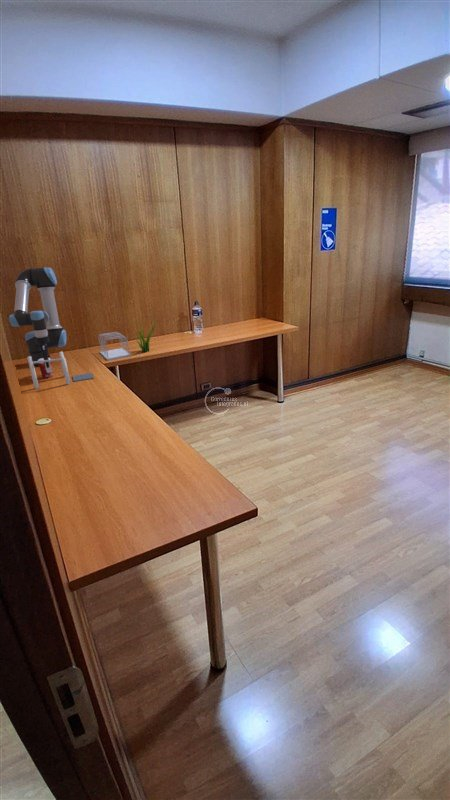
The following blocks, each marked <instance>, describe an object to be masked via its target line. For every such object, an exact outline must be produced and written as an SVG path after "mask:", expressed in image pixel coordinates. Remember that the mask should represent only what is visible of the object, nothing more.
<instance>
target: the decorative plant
mask: <svg viewBox="0 0 450 800" xmlns="http://www.w3.org/2000/svg"><path fill="white" fill-rule="evenodd" d="M156 311H157V310H156V309H155V312H156ZM154 315H155V313H153V315H152V316H154ZM152 320H153V326H152V328H151V330H150V331H149V333H148V335H147V337H145V334H144V329H143V326H141V331H140V329H139V326H140V323H137V331H138V336H139V337H138V336H137V335H136V334H135V333H134V335H133V336H134V337H137V338H135V339H136V343H137V344H138V346H139V348H140V349H141V351H142V353H149V352H150V341H151V337H152V335H153V334H154V331H155V326H156V320H155V318H154V317H152ZM137 321H138V322H140V321H139V319H137Z"/></svg>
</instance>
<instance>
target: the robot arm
mask: <svg viewBox="0 0 450 800" xmlns="http://www.w3.org/2000/svg"><path fill="white" fill-rule="evenodd" d="M57 285H58V281H57V277H56V274H55V272H54V270H53V269H52V268H51V267H45V266H44V267H33V268H25V269H24V270H22V271H20V273H18V275H17V276H16V278H15V281H14V286H15V287H14V288H15V289H16V290H15V298H14V300H15V301H14V311H13V314H10V315H9V316H8V320H9V324H10V326H11V327H14V328H15V327H26V326H32V327H33V328H32V329H33V330H32V331H31V330H30V331H28V332H27V333H25V335H24V338H25V343H26V347H27V351H28V356H31V357H32V361H33V362H34V361H38V359H41V358H44V360H49V359H48V358H50V359H52V358H51V354H49V349H51V348H62V347H65V346H66V345H67V340H68V339H67V331H66V330H65V329H64V328H63V326H61V324H60V318H59V314H58V308H57V303H56V298H55V292H54V291H55V289H56V286H57ZM32 287H36V289H37V290H38V291H39V292H40V294H39V295H40V298H41V304H42V308H43V310H33V311H30V312H29V313H28V311H29V309H28V308H29V297H30V296H29V295H30V291H31V289H32ZM43 363H45V366H46V371H47V373H49V372H52V371H51V367H50V362H43ZM34 367H39V364H38V363H35V364H34Z"/></svg>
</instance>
